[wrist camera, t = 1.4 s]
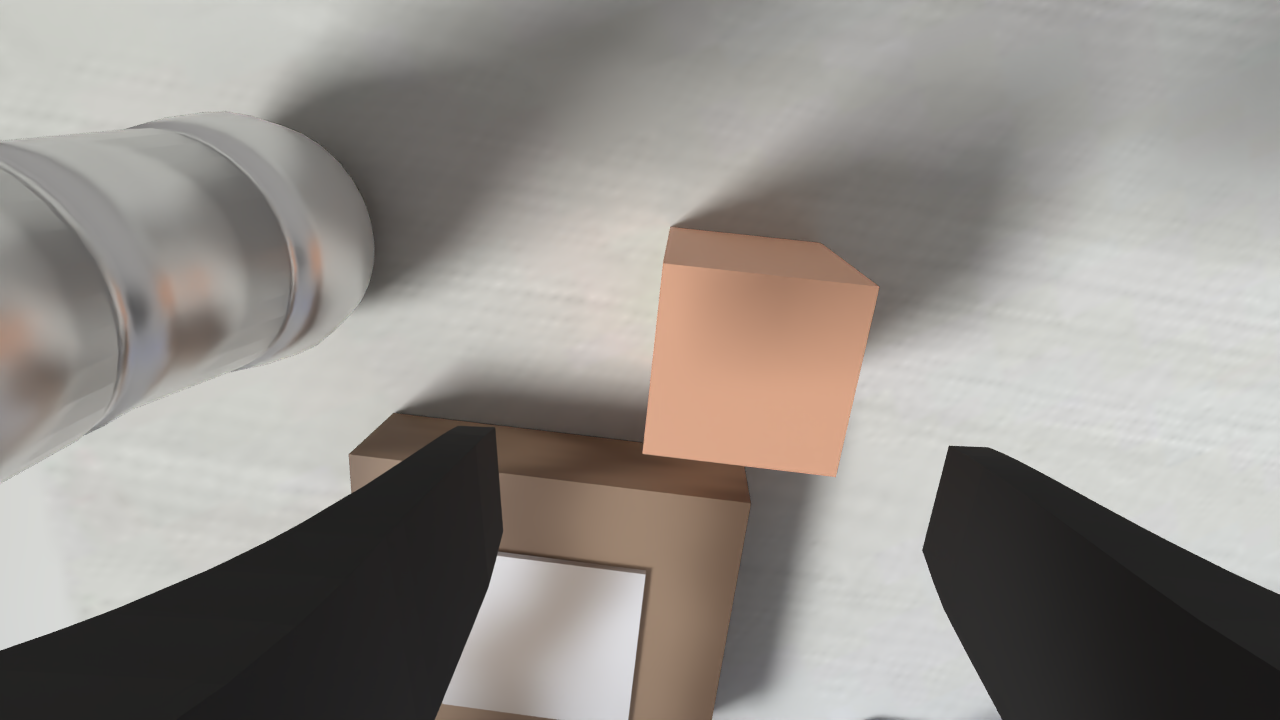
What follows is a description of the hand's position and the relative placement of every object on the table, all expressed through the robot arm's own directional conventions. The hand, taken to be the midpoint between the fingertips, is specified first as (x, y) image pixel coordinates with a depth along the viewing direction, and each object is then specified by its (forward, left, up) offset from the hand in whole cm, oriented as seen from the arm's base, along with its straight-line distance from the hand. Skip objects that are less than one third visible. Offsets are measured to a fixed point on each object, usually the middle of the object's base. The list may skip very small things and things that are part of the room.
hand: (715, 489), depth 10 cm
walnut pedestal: (+4, +10, -10) cm, 15 cm away
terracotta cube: (-1, -1, -10) cm, 10 cm away
